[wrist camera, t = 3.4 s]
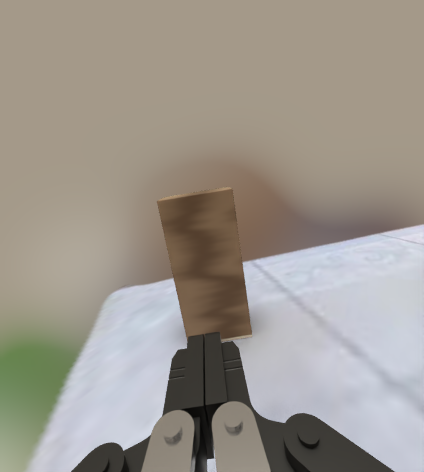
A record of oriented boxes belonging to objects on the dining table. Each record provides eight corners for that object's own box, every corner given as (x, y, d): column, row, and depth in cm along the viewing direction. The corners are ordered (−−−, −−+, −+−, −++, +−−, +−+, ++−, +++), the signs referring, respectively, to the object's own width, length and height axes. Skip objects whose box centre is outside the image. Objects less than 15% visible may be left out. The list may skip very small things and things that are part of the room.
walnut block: (244, 313, 29) (227, 186, 25) (252, 336, 25) (232, 188, 21) (190, 322, 29) (164, 197, 25) (188, 347, 25) (157, 201, 21)
